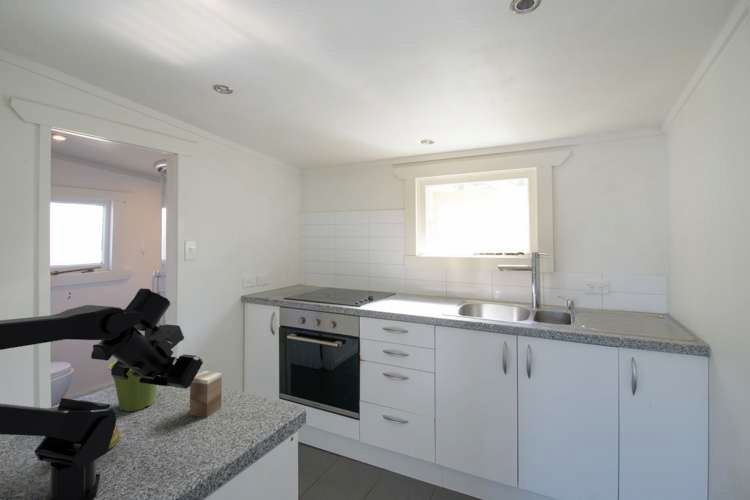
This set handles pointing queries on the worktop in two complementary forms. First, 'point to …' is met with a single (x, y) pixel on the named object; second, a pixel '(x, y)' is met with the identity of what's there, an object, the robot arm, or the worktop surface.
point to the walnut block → (205, 394)
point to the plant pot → (133, 392)
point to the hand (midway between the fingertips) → (179, 384)
